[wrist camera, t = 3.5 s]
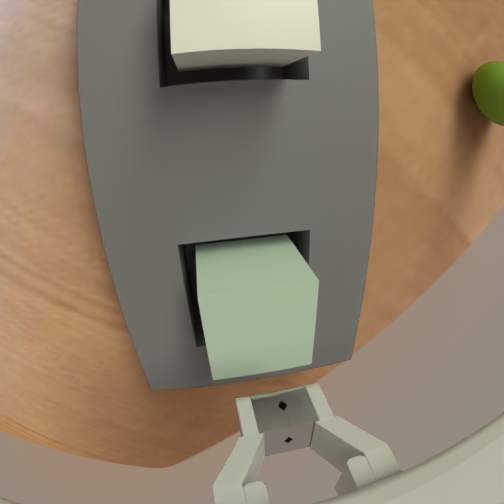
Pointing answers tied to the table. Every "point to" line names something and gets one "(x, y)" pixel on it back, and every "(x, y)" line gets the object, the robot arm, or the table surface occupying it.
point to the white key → (242, 33)
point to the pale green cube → (256, 305)
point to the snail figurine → (490, 91)
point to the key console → (227, 172)
